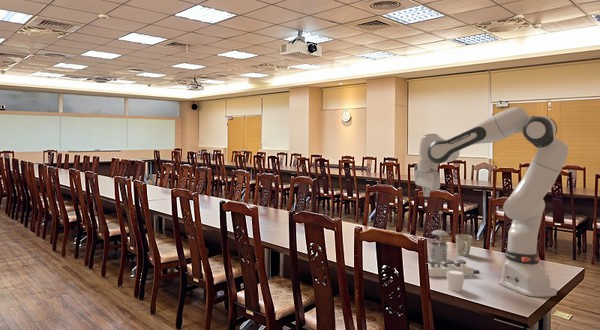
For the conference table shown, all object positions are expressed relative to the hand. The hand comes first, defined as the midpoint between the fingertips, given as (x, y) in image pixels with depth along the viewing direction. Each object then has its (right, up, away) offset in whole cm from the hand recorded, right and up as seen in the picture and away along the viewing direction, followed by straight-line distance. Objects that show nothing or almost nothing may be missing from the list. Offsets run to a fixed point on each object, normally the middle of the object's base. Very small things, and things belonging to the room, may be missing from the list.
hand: (426, 196), depth 210 cm
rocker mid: (+6, -29, -11) cm, 32 cm away
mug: (+26, -33, +22) cm, 47 cm away
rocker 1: (0, -29, -12) cm, 32 cm away
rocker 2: (+12, -29, -10) cm, 33 cm away
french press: (+10, -33, +12) cm, 36 cm away
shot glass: (+2, -36, -32) cm, 48 cm away
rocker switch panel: (+8, -34, -10) cm, 37 cm away
